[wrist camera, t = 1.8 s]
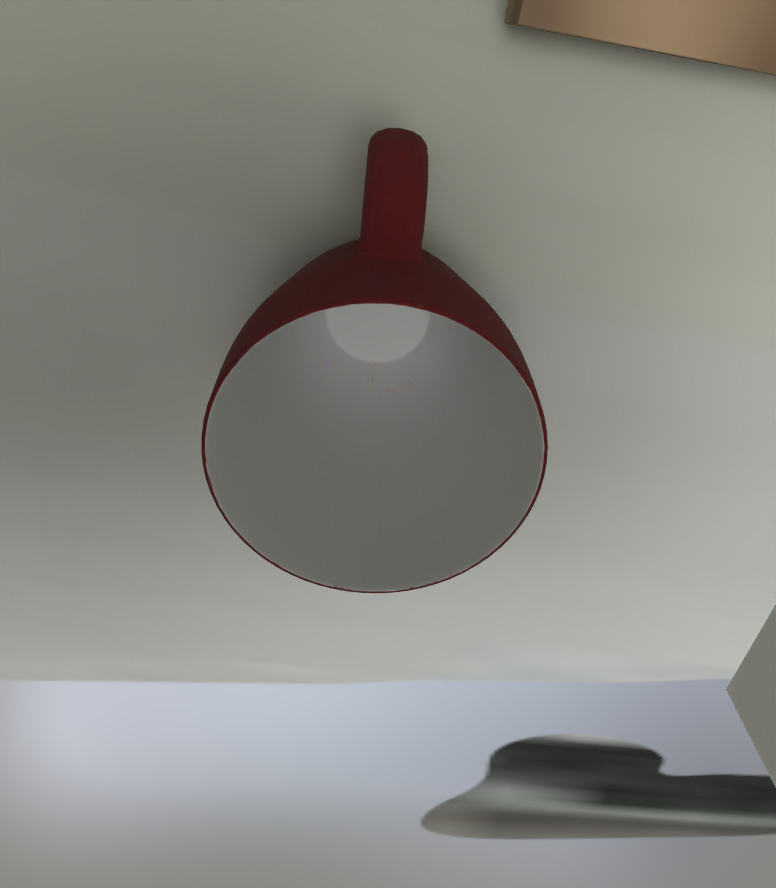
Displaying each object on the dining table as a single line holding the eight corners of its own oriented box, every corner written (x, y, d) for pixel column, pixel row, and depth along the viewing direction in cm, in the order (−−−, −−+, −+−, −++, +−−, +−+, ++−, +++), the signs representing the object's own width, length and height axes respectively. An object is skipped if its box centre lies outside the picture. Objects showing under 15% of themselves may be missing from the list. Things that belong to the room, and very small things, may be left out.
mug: (235, 112, 22) (141, 177, 13) (500, 101, 22) (576, 159, 13) (276, 416, 27) (228, 600, 19) (489, 408, 27) (537, 590, 19)
